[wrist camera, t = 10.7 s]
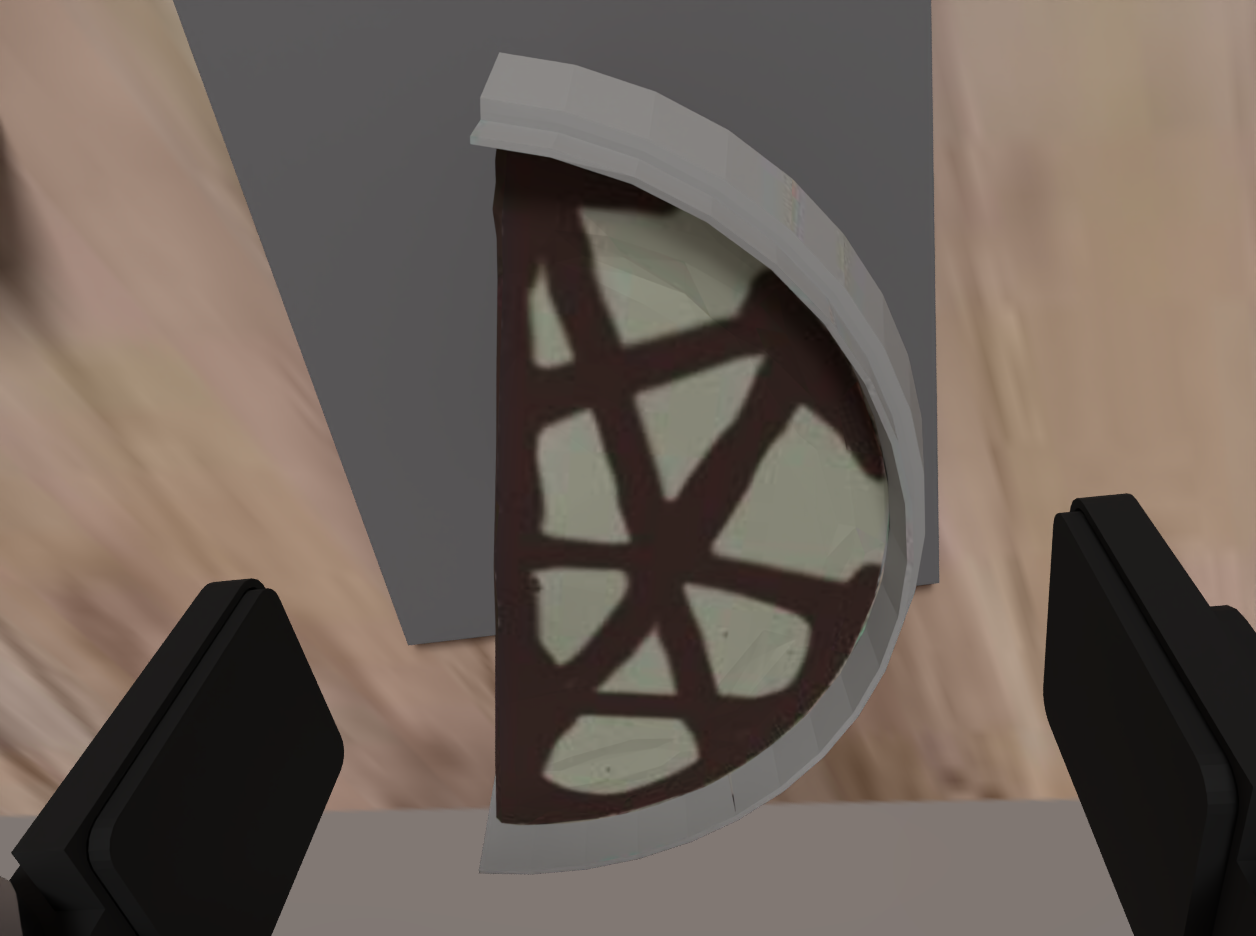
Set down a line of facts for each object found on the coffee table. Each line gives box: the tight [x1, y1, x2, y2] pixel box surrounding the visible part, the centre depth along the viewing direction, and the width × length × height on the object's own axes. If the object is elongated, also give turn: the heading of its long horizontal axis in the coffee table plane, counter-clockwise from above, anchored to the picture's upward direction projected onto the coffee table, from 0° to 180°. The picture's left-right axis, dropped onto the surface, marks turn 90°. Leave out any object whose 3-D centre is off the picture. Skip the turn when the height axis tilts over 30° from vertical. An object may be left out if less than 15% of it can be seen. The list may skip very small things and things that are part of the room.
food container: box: [470, 52, 925, 874], centre depth 17 cm, size 12×6×10 cm, turn 176°
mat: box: [173, 0, 939, 645], centre depth 22 cm, size 14×16×1 cm
